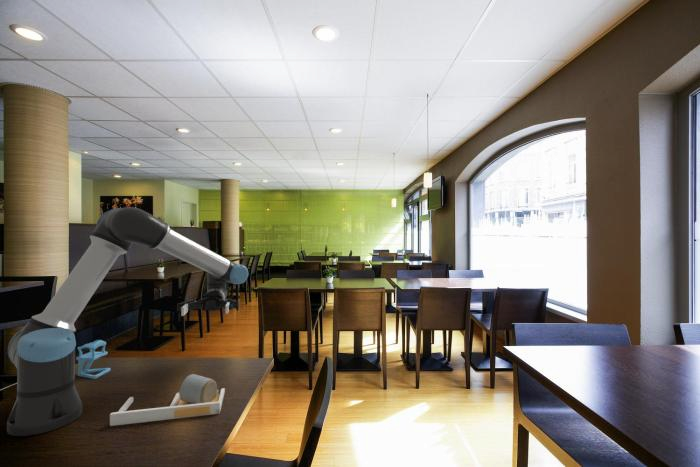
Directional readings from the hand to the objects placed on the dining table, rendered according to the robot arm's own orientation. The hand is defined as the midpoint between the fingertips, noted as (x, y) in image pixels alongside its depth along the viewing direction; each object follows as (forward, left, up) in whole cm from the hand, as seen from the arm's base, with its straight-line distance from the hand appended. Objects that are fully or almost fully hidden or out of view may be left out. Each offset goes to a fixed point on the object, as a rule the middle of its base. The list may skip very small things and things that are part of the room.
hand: (204, 310), depth 115 cm
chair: (-40, +20, -25) cm, 52 cm away
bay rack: (-6, -13, -25) cm, 29 cm away
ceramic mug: (+1, -11, -25) cm, 27 cm away
